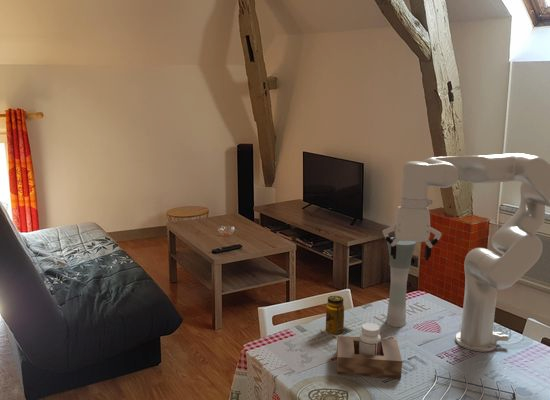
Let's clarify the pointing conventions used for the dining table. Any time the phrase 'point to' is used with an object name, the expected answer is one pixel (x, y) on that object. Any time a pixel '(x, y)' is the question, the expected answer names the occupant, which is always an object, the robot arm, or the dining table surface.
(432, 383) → the dining table surface
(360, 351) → the pill bottle
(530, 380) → the dining table surface
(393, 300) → the container
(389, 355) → the well block
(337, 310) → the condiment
